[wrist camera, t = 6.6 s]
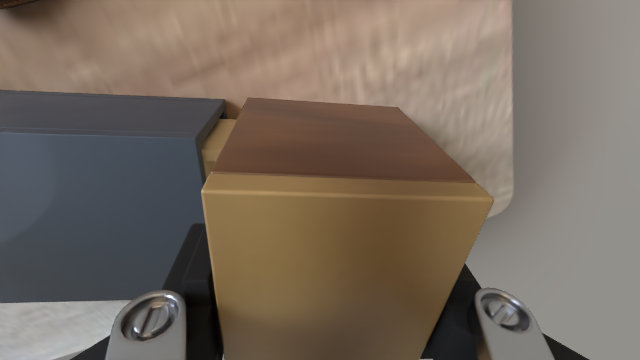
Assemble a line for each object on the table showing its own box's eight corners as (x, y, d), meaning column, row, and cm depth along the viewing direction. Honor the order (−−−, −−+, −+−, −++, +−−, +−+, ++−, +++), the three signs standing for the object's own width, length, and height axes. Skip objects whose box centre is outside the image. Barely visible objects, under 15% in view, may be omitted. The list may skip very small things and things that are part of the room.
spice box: (254, 273, 13) (232, 420, 9) (246, 97, 9) (199, 190, 4) (361, 272, 14) (396, 410, 9) (398, 106, 10) (497, 198, 5)
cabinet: (224, 99, 25) (195, 138, 17) (238, 231, 32) (221, 298, 25) (-4, 89, 23) (-144, 128, 16) (66, 231, 30) (-7, 303, 23)
